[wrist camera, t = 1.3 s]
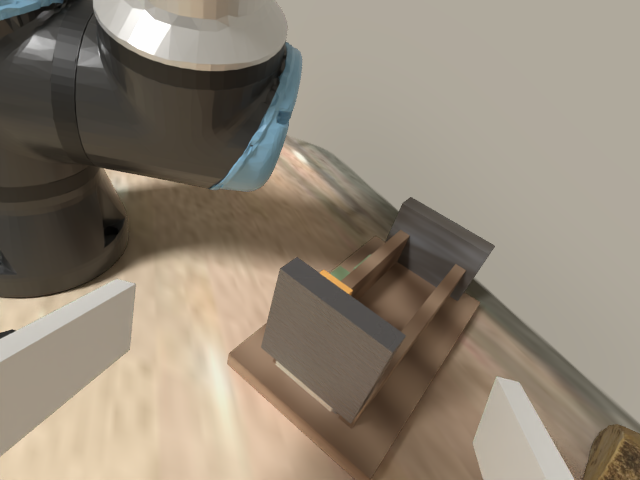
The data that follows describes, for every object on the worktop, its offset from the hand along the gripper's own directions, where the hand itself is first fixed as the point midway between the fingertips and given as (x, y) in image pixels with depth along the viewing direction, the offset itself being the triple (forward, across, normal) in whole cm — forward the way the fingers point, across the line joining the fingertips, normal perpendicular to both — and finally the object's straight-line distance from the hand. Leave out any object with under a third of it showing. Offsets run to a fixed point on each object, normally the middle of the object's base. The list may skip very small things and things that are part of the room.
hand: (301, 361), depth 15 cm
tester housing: (+24, +4, -10) cm, 27 cm away
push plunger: (+17, +1, -11) cm, 20 cm away
